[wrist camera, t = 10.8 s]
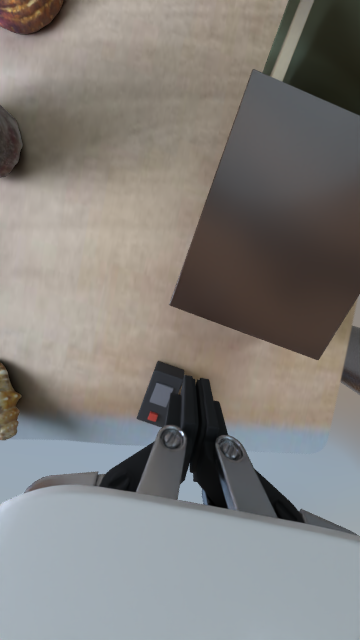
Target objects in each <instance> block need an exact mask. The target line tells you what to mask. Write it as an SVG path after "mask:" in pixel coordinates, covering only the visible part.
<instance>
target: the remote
mask: <svg viewBox="0 0 360 640" xmlns="http://www.w3.org/2000/svg"><path fill="white" fill-rule="evenodd" d="M183 379H184V370H182V369H179V368H177V367H174V366H171V365H168V364H165V363H163V362H160V361H158V362H157V364H156V367H155V370H154V372H153V375H152V378H151V381H150V383H149V386H148V389H147V391H146V394H145V397H144V400H143V402H142V405H141V408H140V410H139V413H138V416H137V419H139V420H142V421H145V422H147V423H150V424H153V425H156V426H159V427H164V426H165V421H166V415H167V409H168V403H169V398H170V393H175V394H178V393H179V390H180V388H181V386H182V383H183Z"/></svg>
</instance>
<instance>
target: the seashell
mask: <svg viewBox="0 0 360 640" xmlns="http://www.w3.org/2000/svg"><path fill="white" fill-rule="evenodd" d="M20 398H21V394H19V393H17V392H15V391H14V389H13V388H12V386H11V383H10V380H9V376H8V372H7V370H6V369H5V367H4V366H3V365H2V363H1V362H0V440H6V439H9V438H11V437H13V436H14V435H16V433H17V426H18V421H17V418H18V415H19V413H20V411H19V410H18V409H17V408H16V405H17V401H18V400H19V399H20Z"/></svg>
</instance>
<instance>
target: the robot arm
mask: <svg viewBox="0 0 360 640" xmlns="http://www.w3.org/2000/svg"><path fill="white" fill-rule="evenodd" d="M189 463H190V472H191V473H193V478H194V479H193V481H194V482H198V484H199V485H200V486H201V488H202V498H203V504H204V505H203V504H197V503H192V502H186V501H181V500H177V499H178V493H179V487H180V484H181V483H182V482H183V481H184V480H185V477H186V473H187V470H188V466H189ZM0 640H360V536H358V535H357V534H355V533H353V532H352V531H350V530H348V529H346V528H343V527H341V526H339V525H336V524H334V523H332V522H330V521H327V520H325V519H323V518H321V517H318V516H316V515H314V514H312V513H309V512H307V511H305V510H302V509H301V510H300V512H299V511H298V510H297V509H296V508H295V507H294V505H293V504H292V503H291V502H290V501H289V500H287V498H286V497H285V496H283V495H282V494H281V493H280V492H279V491H278V490H277V489H276V488H275V487H273V485H272V484H270V483H269V482H268V481H267V480H266V479H265V478H264V477H263V476H262V475H261V474H259V473H258V472H257V471H256V470H255V469H254V468H253V465H252V463H251V461H250V459H249V457H248V455H247V453H246V451H245V449H244V447H243V445H242V444H241V443H240V442H239V441H238V440H237V439H235V438H234V437H232V436H229V435H228V433H227V429H226V425H225V422H224V418H223V414H222V410H221V406H220V403H219V402H218V401H213V396H212V392H211V387H210V382H209V379H204V378H200V380H198V379H197V382H196V383H195V379H193V377H192V376H188V375H184V379H183V384H182V389H181V394H175V393H170V398H169V403H168V409H167V415H166V421H165V426H164V427H162V428H161V429H160V430H159V432H158V434H157V437H156V440H155V441H154V442H153V443H151V444H150V445H148V446H147V447H145V448H144V449H142V450H140V451H139V452H137V453H136V454H134V455H133V456H131V457H129V458H128V459H126V460H125V461H123V462H121V463H120V464H119V465H117V466H115V467H114V468H112V469H111V470H109V472H107V473H106V474H99V475H98V472H87V473H75V474H63V475H51V476H46V477H43V478H41V479H39V480H37V481H35V482H34V483H33V484H32V485H30V486H29V487H28V488H27V489H26V491H25V492H24V493H23V494H21V495H18V496H16V497H14V498H11V499H9V500H7V501H5V502H3V503H1V504H0Z"/></svg>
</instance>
